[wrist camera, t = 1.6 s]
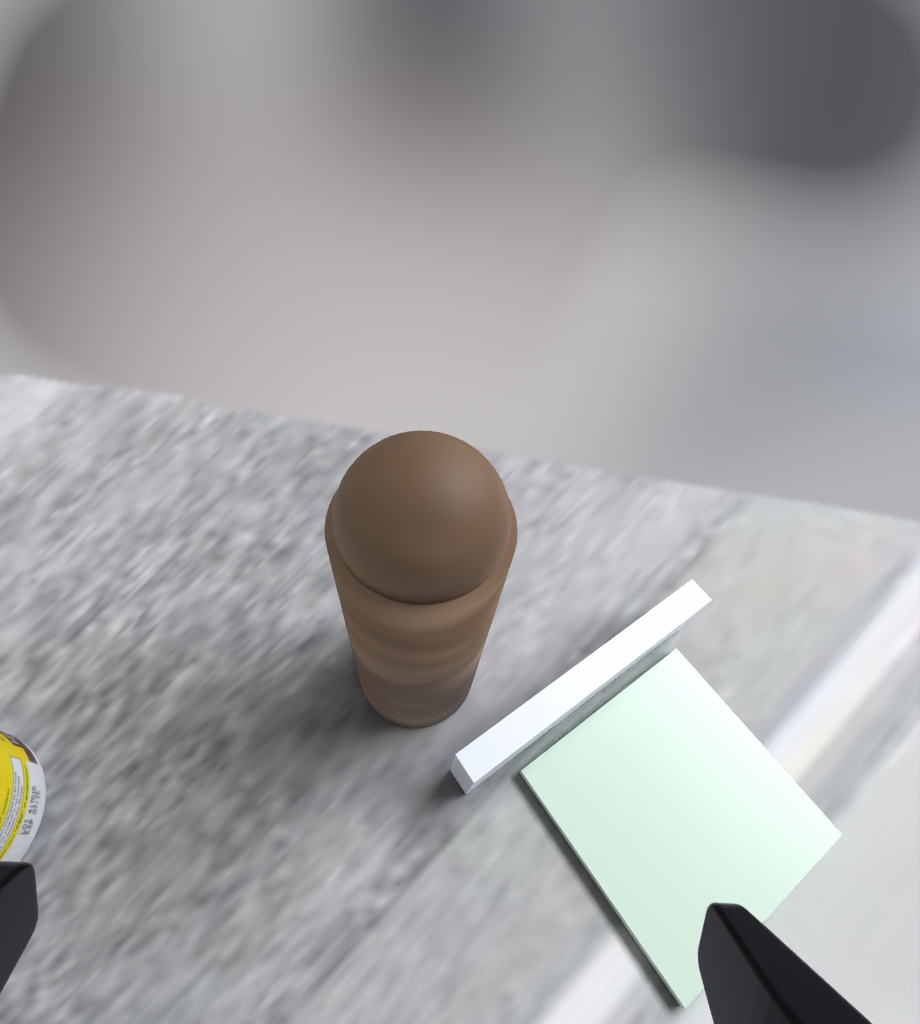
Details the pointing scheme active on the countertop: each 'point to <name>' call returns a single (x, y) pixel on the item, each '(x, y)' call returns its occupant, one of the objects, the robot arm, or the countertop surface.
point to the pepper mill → (419, 569)
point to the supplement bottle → (19, 797)
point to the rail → (574, 688)
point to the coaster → (678, 814)
